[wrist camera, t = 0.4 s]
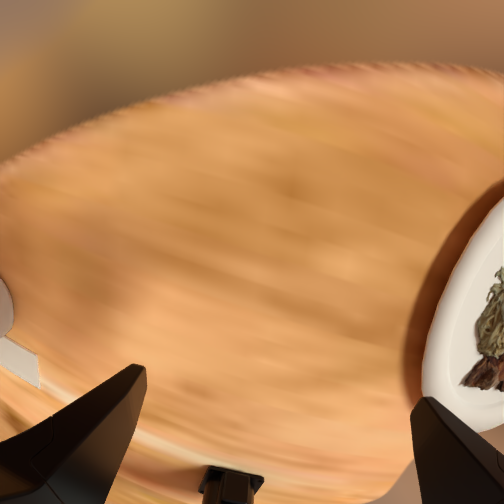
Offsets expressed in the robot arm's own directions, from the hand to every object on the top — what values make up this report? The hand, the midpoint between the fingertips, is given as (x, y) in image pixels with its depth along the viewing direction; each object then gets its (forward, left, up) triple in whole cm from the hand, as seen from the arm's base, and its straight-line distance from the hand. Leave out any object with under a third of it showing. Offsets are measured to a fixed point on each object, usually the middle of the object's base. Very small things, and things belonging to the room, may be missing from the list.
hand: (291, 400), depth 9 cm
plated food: (+3, -28, -15) cm, 32 cm away
